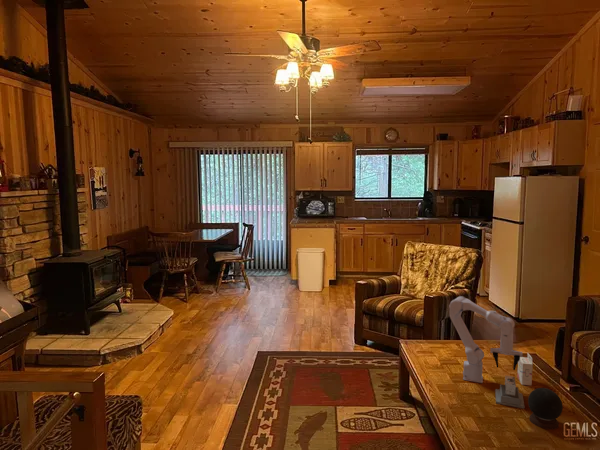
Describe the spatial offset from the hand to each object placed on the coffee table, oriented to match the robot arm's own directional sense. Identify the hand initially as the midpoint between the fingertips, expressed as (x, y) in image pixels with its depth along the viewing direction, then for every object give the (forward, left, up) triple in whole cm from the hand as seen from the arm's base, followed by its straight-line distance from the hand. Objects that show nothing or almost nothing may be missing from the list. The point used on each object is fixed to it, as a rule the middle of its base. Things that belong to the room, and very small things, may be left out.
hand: (505, 368), depth 216 cm
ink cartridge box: (+10, +11, -11) cm, 18 cm away
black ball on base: (+15, -27, -11) cm, 32 cm away
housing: (+2, -12, -6) cm, 14 cm away
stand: (+2, -12, -10) cm, 16 cm away
